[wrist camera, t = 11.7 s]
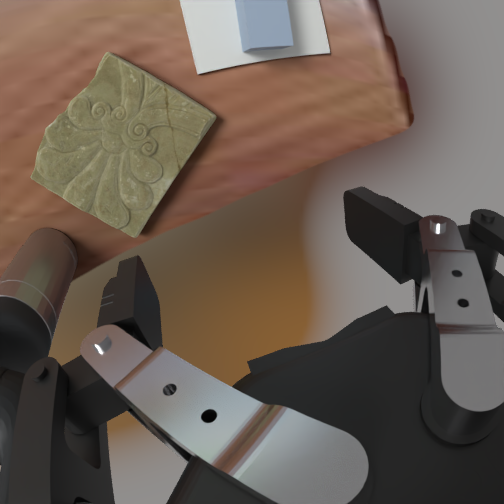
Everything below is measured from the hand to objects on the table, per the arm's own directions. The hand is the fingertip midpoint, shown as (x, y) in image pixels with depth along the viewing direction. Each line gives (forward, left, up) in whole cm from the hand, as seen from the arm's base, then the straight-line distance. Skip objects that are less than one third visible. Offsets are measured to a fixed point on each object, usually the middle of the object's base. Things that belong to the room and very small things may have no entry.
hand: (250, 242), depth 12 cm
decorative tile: (-9, +2, -34) cm, 35 cm away
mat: (+13, +15, -33) cm, 38 cm away
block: (+13, +15, -32) cm, 38 cm away
